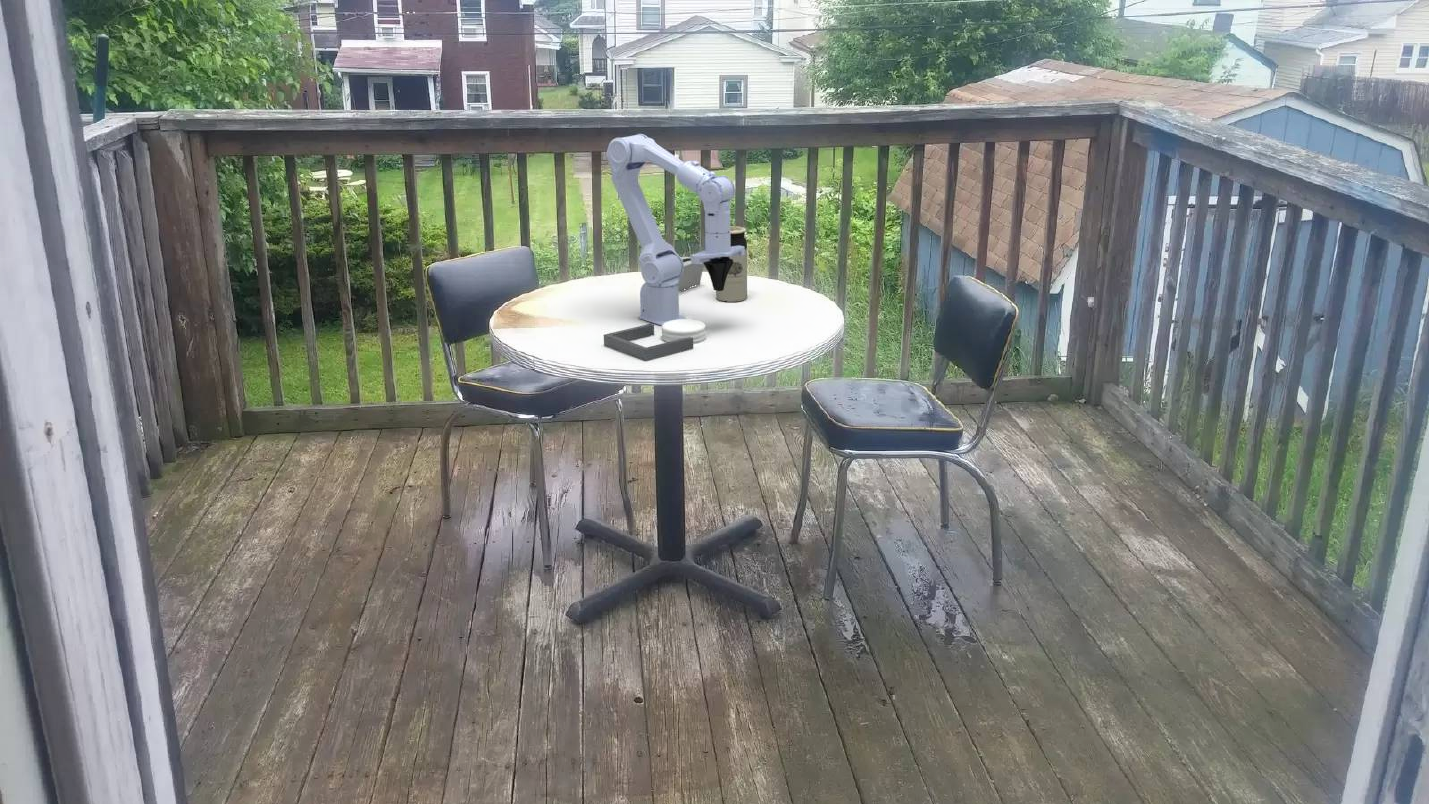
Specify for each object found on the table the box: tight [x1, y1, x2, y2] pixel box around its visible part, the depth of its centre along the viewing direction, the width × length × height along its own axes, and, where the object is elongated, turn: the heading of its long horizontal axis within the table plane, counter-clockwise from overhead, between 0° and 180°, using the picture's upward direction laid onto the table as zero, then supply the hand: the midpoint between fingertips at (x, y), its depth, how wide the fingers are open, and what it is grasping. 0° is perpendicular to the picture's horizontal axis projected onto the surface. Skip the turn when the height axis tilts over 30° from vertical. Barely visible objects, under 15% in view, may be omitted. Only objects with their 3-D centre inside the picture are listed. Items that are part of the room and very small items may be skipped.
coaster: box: [661, 318, 707, 344], centre depth 254 cm, size 10×10×4 cm
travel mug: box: [715, 225, 748, 303], centre depth 284 cm, size 8×8×18 cm
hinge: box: [678, 256, 705, 292], centre depth 294 cm, size 17×5×10 cm, turn 144°
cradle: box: [603, 323, 694, 362], centre depth 248 cm, size 15×13×2 cm
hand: (718, 290), depth 258 cm, fingers closed
